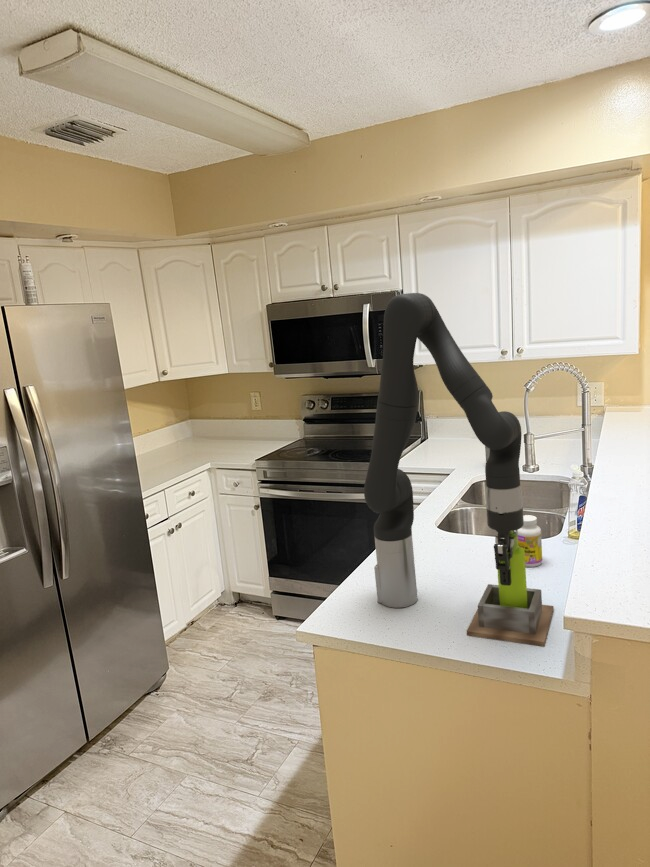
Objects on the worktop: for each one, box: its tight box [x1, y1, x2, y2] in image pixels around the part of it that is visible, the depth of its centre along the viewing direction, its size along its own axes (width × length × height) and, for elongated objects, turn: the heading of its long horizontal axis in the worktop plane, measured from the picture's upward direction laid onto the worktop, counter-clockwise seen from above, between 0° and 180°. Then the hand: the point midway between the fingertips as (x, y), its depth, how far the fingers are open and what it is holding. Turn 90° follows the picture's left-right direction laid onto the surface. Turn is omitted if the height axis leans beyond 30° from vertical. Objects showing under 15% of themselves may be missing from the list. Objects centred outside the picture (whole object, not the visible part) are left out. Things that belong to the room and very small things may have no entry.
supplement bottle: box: [517, 514, 543, 568], centre depth 162 cm, size 7×7×13 cm
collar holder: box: [466, 583, 555, 647], centre depth 134 cm, size 16×16×6 cm
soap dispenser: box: [497, 531, 528, 609], centre depth 132 cm, size 6×7×20 cm
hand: (508, 577), depth 132 cm, fingers closed on soap dispenser, 6 cm apart
